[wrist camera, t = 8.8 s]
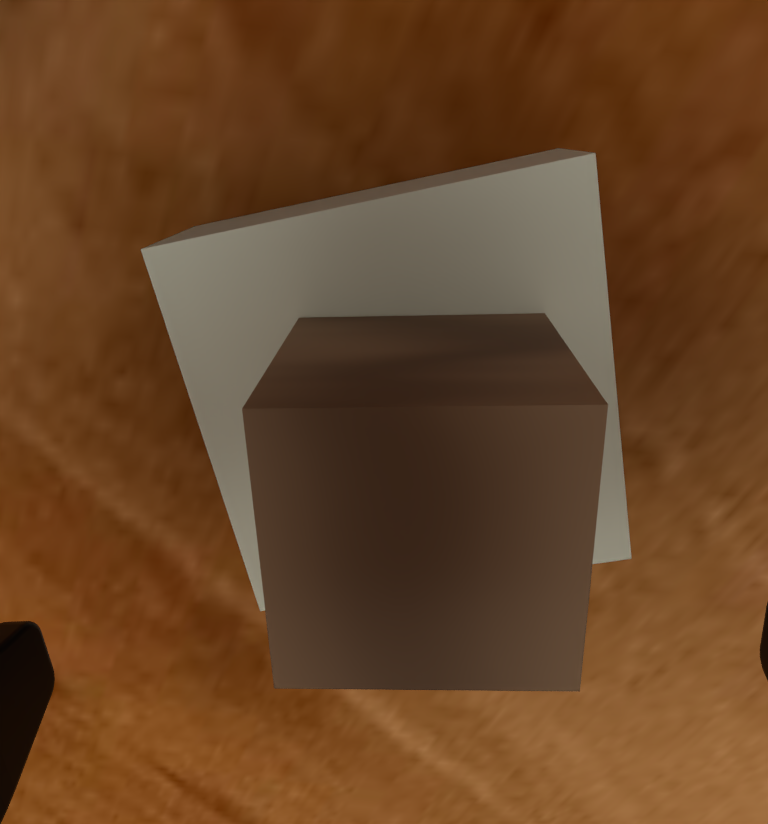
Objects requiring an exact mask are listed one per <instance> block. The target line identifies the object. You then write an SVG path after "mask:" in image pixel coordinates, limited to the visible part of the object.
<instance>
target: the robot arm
mask: <svg viewBox="0 0 768 824" xmlns="http://www.w3.org/2000/svg"><path fill="white" fill-rule="evenodd" d="M760 659H761V664H762V668H763V671H764V673H765V676H766V678H767V680H768V603H767V606H766V613H765V619H764V626H763V632H762V638H761V645H760ZM54 680H55V677H54V670H53V666H52V663H51V660H50V657H49V654H48V651H47V648H46V645H45V642H44V638H43V635H42V632H41V630H40V628H39V626H38V625H37V624H36V623H34V622H31V621H19V622H3V623H0V824H1V822H2V820H3V817H4V815H5V813H6V811H7V809H8V806H9V804H10V801H11V799H12V797H13V794H14V792H15V789H16V787H17V784H18V782H19V779H20V776H21V774H22V771H23V768H24V766H25V763H26V760H27V758H28V755H29V753H30V750H31V747H32V745H33V742H34V739H35V737H36V734H37V732H38V729H39V726H40V724H41V721H42V718H43V716H44V713H45V710H46V708H47V705H48V703H49V700H50V697H51V695H52V692H53V688H54Z"/></svg>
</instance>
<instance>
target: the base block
mask: <svg viewBox="0 0 768 824" xmlns="http://www.w3.org/2000/svg"><path fill="white" fill-rule="evenodd" d="M141 252H142V255H143V258H144V261H145V264H146V267H147V270H148V273H149V276H150V279H151V282H152V285H153V288H154V291H155V294H156V297H157V300H158V303H159V306H160V309H161V312H162V315H163V318H164V321H165V324H166V327H167V331H168V334H169V337H170V340H171V343H172V346H173V349H174V352H175V355H176V358H177V361H178V364H179V367H180V370H181V373H182V376H183V379H184V382H185V385H186V388H187V391H188V394H189V397H190V400H191V403H192V406H193V409H194V412H195V415H196V418H197V421H198V424H199V427H200V430H201V433H202V436H203V439H204V442H205V446H206V449H207V452H208V455H209V458H210V461H211V464H212V467H213V470H214V473H215V476H216V479H217V482H218V485H219V488H220V491H221V494H222V497H223V500H224V503H225V506H226V509H227V512H228V515H229V518H230V521H231V524H232V527H233V530H234V533H235V536H236V539H237V542H238V545H239V548H240V551H241V554H242V558H243V561H244V564H245V567H246V570H247V573H248V576H249V579H250V582H251V585H252V588H253V591H254V594H255V597H256V600H257V603H258V606H259V609H260V611H265V604H264V595H263V586H262V578H261V569H260V560H259V552H258V543H257V535H256V526H255V517H254V509H253V500H252V491H251V483H250V474H249V465H248V457H247V448H246V439H245V431H244V422H243V414H242V408H243V406H244V405H245V403H246V402H247V400H248V398H249V397H250V395H251V394H252V392H253V390H254V389H255V387H256V386H257V384H258V382H259V381H260V379H261V378H262V376H263V374H264V373H265V371H266V370H267V368H268V366H269V365H270V363H271V362H272V360H273V358H274V357H275V355H276V353H277V352H278V350H279V349H280V347H281V345H282V344H283V342H284V341H285V339H286V337H287V336H288V334H289V333H290V331H291V329H292V328H293V326H294V325H295V323H296V321H297V320H298V318H310V317H365V316H420V315H475V314H529V313H545V314H546V315H547V317H548V318H549V320H550V321H551V323H552V324H553V326H554V327H555V328H556V330H557V331H558V333H559V334H560V336H561V337H562V339H563V340H564V342H565V343H566V344H567V346H568V347H569V349H570V350H571V352H572V353H573V355H574V356H575V357H576V359H577V360H578V362H579V363H580V365H581V366H582V368H583V369H584V370H585V372H586V373H587V375H588V376H589V378H590V379H591V381H592V382H593V383H594V385H595V386H596V388H597V389H598V391H599V392H600V394H601V395H602V396H603V398H604V399H605V401H606V402H607V404H608V411H607V421H606V432H605V442H604V452H603V462H602V472H601V482H600V492H599V502H598V512H597V522H596V532H595V542H594V552H593V563H592V564H597V563H604V562H612V561H619V560H626V559H631V547H630V536H629V525H628V514H627V502H626V491H625V480H624V469H623V457H622V446H621V435H620V424H619V412H618V401H617V390H616V379H615V367H614V356H613V345H612V333H611V322H610V311H609V300H608V288H607V277H606V266H605V255H604V243H603V232H602V221H601V210H600V198H599V187H598V176H597V165H596V153H592V152H584V151H577V150H569V149H561V148H558V149H553V150H549V151H544V152H539V153H535V154H530V155H525V156H521V157H516V158H511V159H507V160H502V161H497V162H493V163H488V164H483V165H479V166H474V167H469V168H465V169H460V170H455V171H450V172H446V173H441V174H436V175H432V176H427V177H422V178H418V179H413V180H408V181H404V182H399V183H394V184H390V185H385V186H380V187H376V188H371V189H366V190H362V191H357V192H352V193H348V194H343V195H338V196H334V197H329V198H324V199H320V200H315V201H310V202H306V203H301V204H296V205H292V206H287V207H282V208H278V209H273V210H268V211H264V212H259V213H254V214H250V215H245V216H240V217H236V218H231V219H226V220H222V221H217V222H212V223H208V224H203V225H198V226H194V227H192V228H190V229H187V230H185V231H182V232H180V233H178V234H175V235H173V236H171V237H168V238H166V239H164V240H161V241H159V242H157V243H154V244H152V245H150V246H147V247H145V248H142V249H141Z"/></svg>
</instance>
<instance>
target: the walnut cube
mask: <svg viewBox="0 0 768 824" xmlns="http://www.w3.org/2000/svg"><path fill="white" fill-rule="evenodd" d="M607 411H608V404H607V402H606V401H605V399H604V398H603V396H602V395H601V394H600V392H599V391H598V389H597V388H596V386H595V385H594V383H593V382H592V381H591V379H590V378H589V376H588V375H587V373H586V372H585V370H584V369H583V368H582V366H581V365H580V363H579V362H578V360H577V359H576V357H575V356H574V355H573V353H572V352H571V350H570V349H569V347H568V346H567V344H566V343H565V342H564V340H563V339H562V337H561V336H560V334H559V333H558V331H557V330H556V328H555V327H554V326H553V324H552V323H551V321H550V320H549V318H548V317H547V315H546V314H545V313H529V314H475V315H420V316H365V317H310V318H298V320H297V321H296V323H295V325H294V326H293V328H292V329H291V331H290V333H289V334H288V336H287V337H286V339H285V341H284V342H283V344H282V345H281V347H280V349H279V350H278V352H277V353H276V355H275V357H274V358H273V360H272V362H271V363H270V365H269V366H268V368H267V370H266V371H265V373H264V374H263V376H262V378H261V379H260V381H259V382H258V384H257V386H256V387H255V389H254V390H253V392H252V394H251V395H250V397H249V398H248V400H247V402H246V403H245V405H244V406H243V408H242V414H243V422H244V431H245V439H246V448H247V457H248V465H249V474H250V483H251V491H252V500H253V509H254V517H255V526H256V535H257V543H258V552H259V560H260V569H261V578H262V586H263V595H264V604H265V612H266V621H267V630H268V638H269V647H270V656H271V664H272V673H273V681H274V688H293V689H393V690H494V691H580V684H581V673H582V663H583V653H584V643H585V633H586V623H587V613H588V603H589V593H590V583H591V573H592V563H593V552H594V542H595V532H596V522H597V512H598V502H599V492H600V482H601V472H602V462H603V452H604V442H605V432H606V421H607Z"/></svg>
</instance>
